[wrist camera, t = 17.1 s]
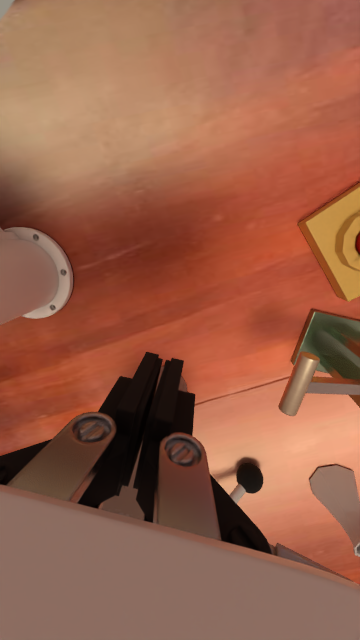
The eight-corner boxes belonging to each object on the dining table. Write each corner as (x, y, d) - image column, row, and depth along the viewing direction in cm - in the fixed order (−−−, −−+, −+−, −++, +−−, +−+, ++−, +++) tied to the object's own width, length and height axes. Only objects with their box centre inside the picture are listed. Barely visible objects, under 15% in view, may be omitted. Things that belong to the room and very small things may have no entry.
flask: (312, 461, 42) (343, 527, 32) (359, 465, 41) (405, 534, 32) (305, 494, 44) (332, 565, 35) (349, 499, 44) (389, 572, 34)
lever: (272, 401, 24) (288, 419, 22) (292, 348, 22) (312, 362, 20) (376, 403, 28) (398, 419, 25) (401, 358, 26) (427, 371, 24)
